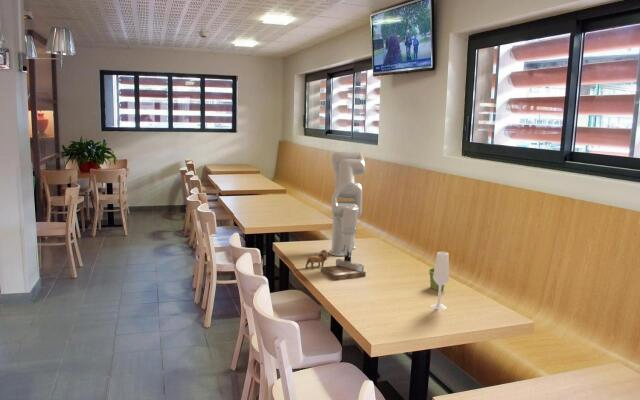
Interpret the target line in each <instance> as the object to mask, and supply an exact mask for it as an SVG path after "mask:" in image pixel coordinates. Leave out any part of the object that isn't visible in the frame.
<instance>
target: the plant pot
mask: <svg viewBox="0 0 640 400" xmlns="http://www.w3.org/2000/svg"><path fill="white" fill-rule="evenodd" d="M434 268H435V267H434ZM434 268H433V267H431V268H429V269H428V273H429V279H430V280H429V282H430V288H431V289H432V290H435V291H439V285H438V284H437V283H436V282H435V281H434V279H433V274H434ZM444 288H445V284H444V285H442V289H441V291H442V290H444Z"/></svg>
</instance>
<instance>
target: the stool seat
mask: <svg viewBox="0 0 640 400" xmlns="http://www.w3.org/2000/svg"><path fill="white" fill-rule="evenodd" d="M366 272H367V271H365V270H364V271H362V272H361V271H357V270H353V269H349V268H345V267H341V266H337V265H330V266H324V267H322V266H320V273H322V274H323V275H325V276H326V277H328V278H330V279H332V280H333V281H340V280H348V279H356V278H363V277H365V278H366V276H367V275H366V274H367V273H366Z"/></svg>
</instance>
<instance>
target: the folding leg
mask: <svg viewBox="0 0 640 400" xmlns="http://www.w3.org/2000/svg"><path fill="white" fill-rule="evenodd" d="M335 266H341V267H345V268H349V269H353V270H357V271H361V272H362V271H365V264H363V263H362V264H361V263H357V262H353V261H351V262H350V261H346V260H344V259H341V258H336V259H335Z"/></svg>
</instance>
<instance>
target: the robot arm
mask: <svg viewBox="0 0 640 400" xmlns="http://www.w3.org/2000/svg"><path fill="white" fill-rule="evenodd" d="M331 164H332V168H333V171H334V176H335V177H334V192H333V194H332V196H331V214H332V231H331V233H332V234H331V235H332V236H331V249H329V251H328V255H330V256H335V257H344V258H343V260H346V261H350V262H352V251H354V250H356V246H355V235H356V234H357V226H358V225H357V224H358V218H360V217H362V216H361V215H362V214H363V213H362V212H363V186H362V184H361V183H360V182H356V179H355V178H356V177H355V175H360V176H361V175H364V174H365V172H366V162H365V159H364V155H363V154H362V153H361V152H355V151H353V152H352V151H336V152H333V153H332V156H331ZM338 198H339V199H349V200H338ZM350 199H353V200H350Z"/></svg>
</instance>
